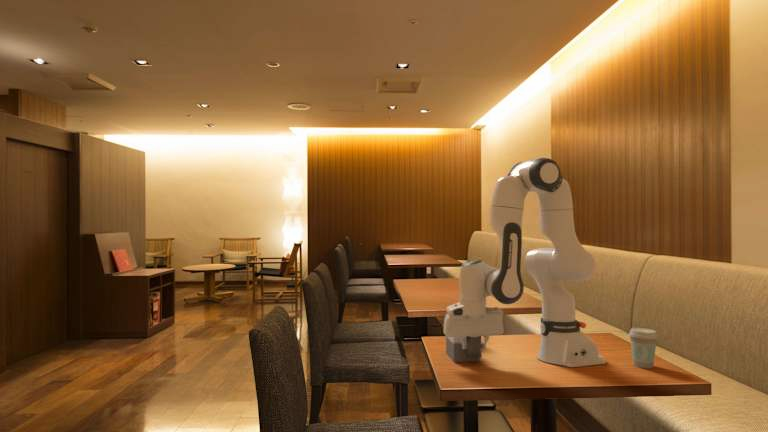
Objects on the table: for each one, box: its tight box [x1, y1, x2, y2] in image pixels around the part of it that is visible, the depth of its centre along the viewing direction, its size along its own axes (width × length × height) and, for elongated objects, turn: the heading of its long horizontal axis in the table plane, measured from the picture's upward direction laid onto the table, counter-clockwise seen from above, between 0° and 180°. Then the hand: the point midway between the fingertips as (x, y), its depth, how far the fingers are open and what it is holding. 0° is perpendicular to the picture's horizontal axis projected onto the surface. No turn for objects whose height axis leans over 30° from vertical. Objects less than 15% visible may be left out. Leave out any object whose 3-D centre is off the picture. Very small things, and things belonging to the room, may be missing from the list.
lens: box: [466, 335, 482, 359], centre depth 160 cm, size 5×5×8 cm
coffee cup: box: [628, 327, 659, 369], centre depth 158 cm, size 8×8×12 cm
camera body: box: [445, 336, 480, 363], centre depth 168 cm, size 9×11×8 cm
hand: (473, 348), depth 160 cm, fingers closed on lens, 5 cm apart
